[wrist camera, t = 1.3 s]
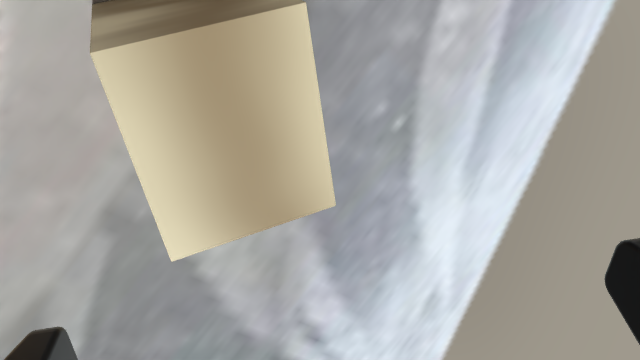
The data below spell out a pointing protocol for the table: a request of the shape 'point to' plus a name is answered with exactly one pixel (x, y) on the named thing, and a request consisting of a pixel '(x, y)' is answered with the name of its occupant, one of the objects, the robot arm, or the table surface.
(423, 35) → the table surface
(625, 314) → the robot arm
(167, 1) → the module block
